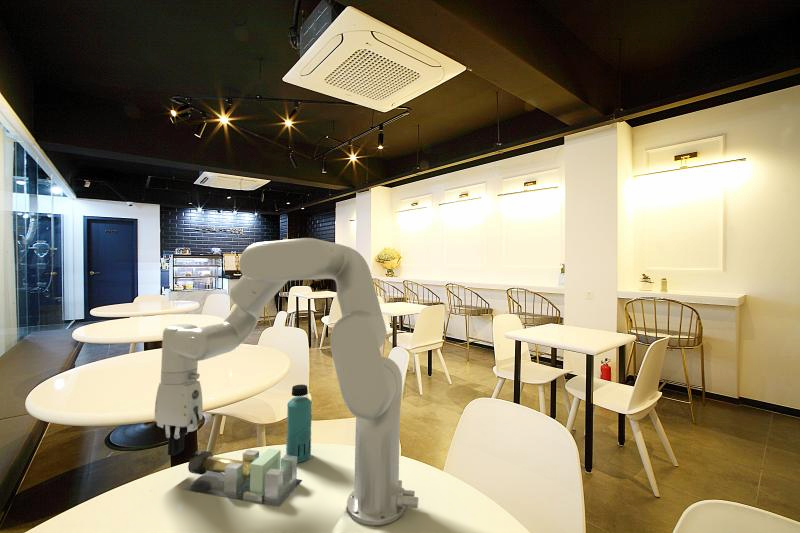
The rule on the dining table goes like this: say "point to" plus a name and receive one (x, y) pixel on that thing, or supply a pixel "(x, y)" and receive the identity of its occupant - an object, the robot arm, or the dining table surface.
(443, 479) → the dining table surface
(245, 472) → the shaft
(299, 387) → the beverage bottle
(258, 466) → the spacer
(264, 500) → the rig
